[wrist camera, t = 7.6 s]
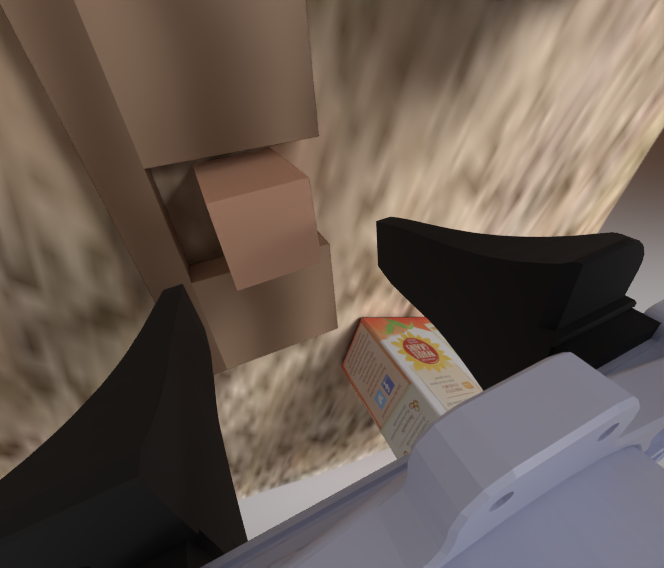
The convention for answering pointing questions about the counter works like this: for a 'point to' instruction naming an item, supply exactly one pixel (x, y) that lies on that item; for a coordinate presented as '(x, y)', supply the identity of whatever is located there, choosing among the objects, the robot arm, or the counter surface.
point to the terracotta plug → (260, 215)
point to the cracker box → (406, 376)
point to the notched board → (184, 135)
